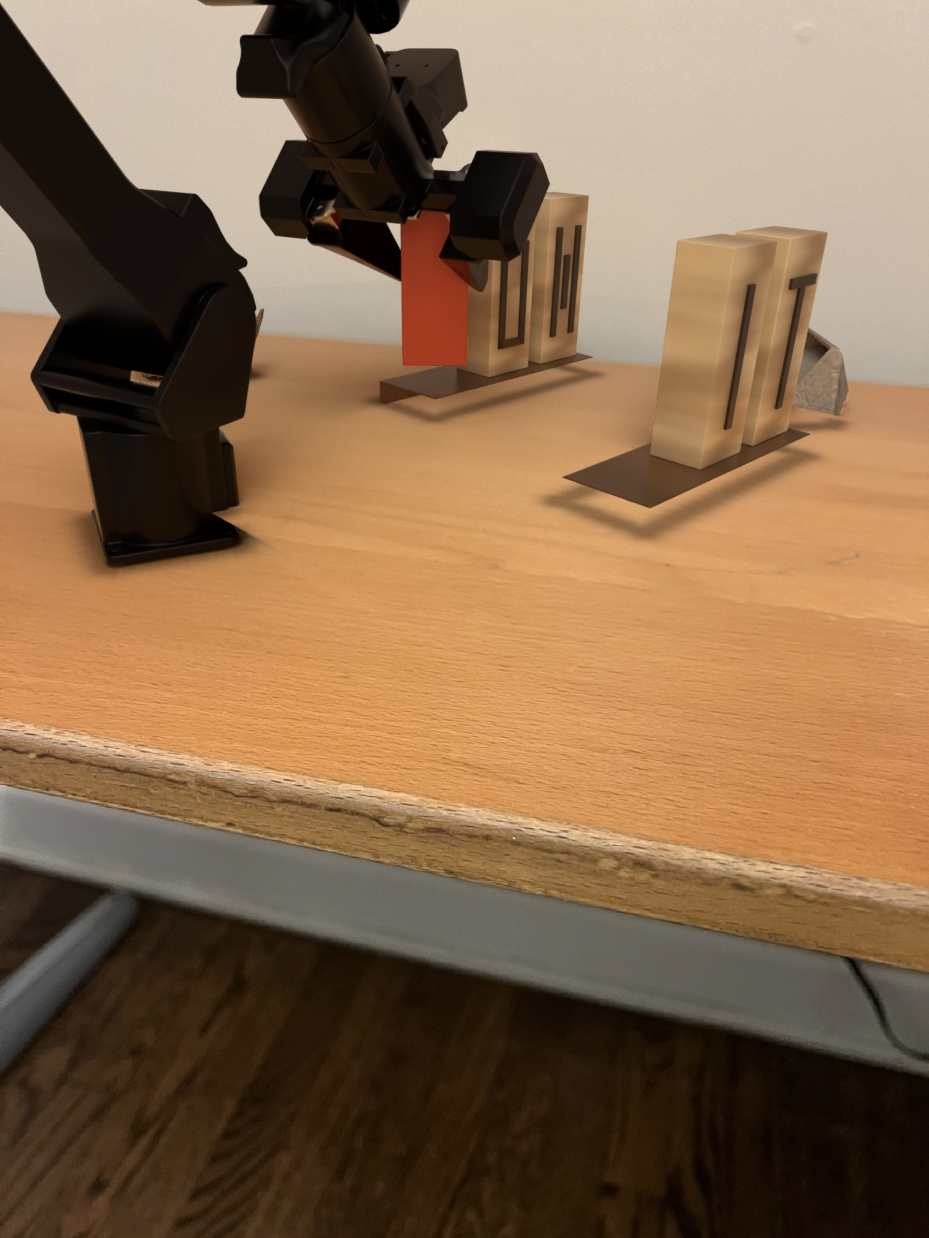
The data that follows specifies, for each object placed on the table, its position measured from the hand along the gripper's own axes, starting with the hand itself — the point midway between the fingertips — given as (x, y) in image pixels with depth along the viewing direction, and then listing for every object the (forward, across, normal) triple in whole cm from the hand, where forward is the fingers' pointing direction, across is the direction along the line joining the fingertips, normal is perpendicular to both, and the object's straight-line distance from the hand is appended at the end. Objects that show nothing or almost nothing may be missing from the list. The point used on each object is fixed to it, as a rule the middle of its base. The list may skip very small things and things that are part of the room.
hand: (443, 281), depth 65 cm
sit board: (+2, -21, +10) cm, 23 cm away
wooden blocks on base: (+10, -2, +2) cm, 10 cm away
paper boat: (+15, -23, -2) cm, 27 cm away
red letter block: (+3, 0, +5) cm, 5 cm away
